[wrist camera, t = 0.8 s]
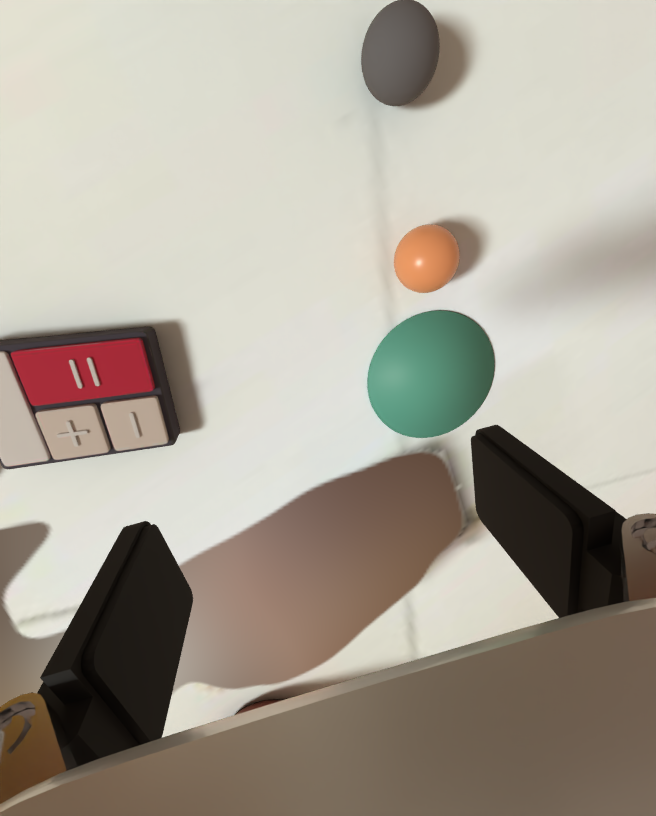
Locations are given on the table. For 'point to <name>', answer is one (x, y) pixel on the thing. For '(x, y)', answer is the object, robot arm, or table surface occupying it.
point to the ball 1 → (400, 52)
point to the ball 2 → (426, 258)
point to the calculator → (83, 397)
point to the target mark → (430, 374)
